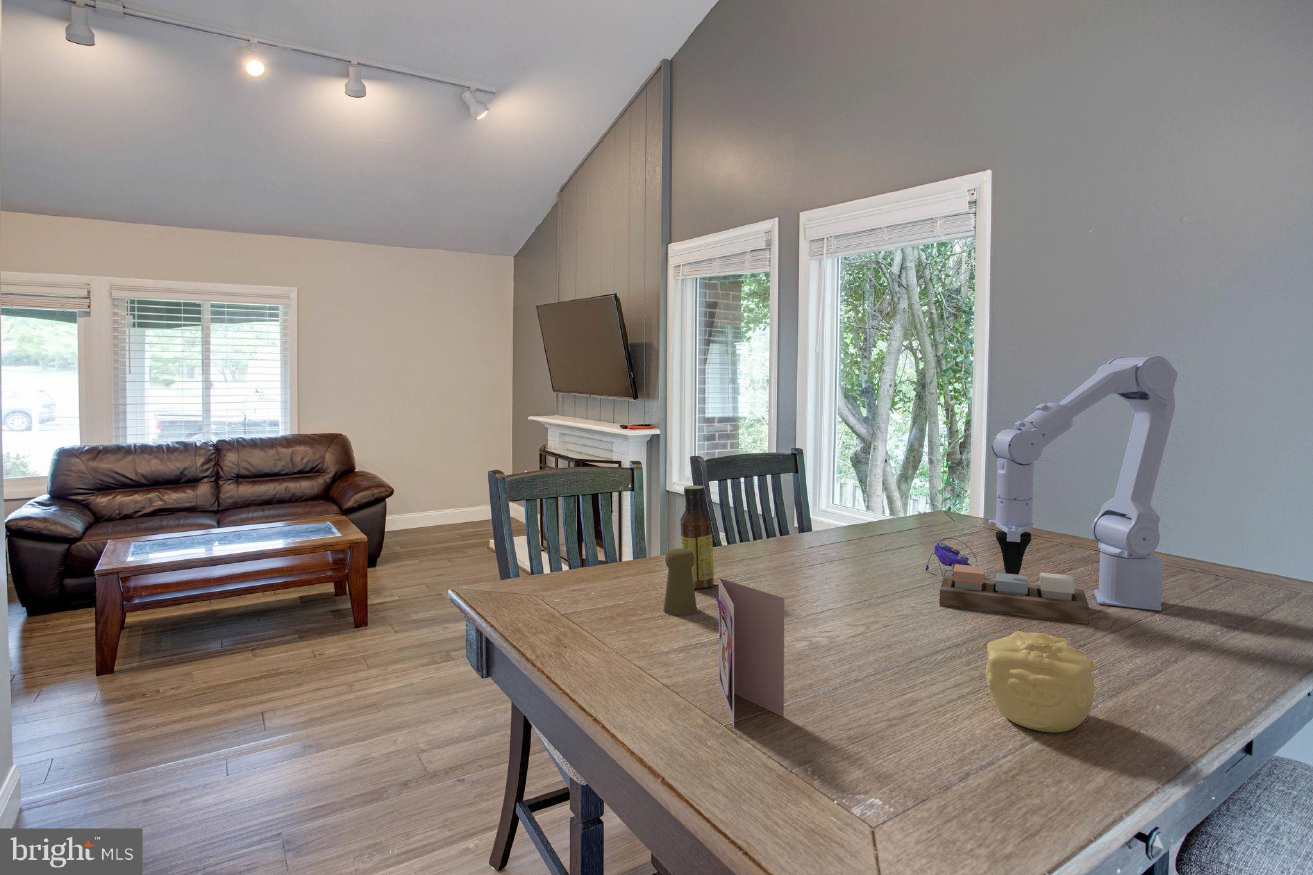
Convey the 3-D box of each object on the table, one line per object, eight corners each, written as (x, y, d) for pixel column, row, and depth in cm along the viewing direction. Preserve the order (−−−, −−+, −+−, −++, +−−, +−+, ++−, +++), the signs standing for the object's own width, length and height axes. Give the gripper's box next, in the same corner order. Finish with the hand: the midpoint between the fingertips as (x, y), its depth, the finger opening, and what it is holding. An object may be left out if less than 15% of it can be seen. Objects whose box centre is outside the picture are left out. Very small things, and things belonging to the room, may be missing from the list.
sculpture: (977, 727, 86) (980, 639, 85) (994, 689, 96) (997, 610, 95) (1089, 754, 79) (1093, 659, 79) (1095, 711, 89) (1099, 627, 88)
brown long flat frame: (1082, 606, 129) (1083, 589, 128) (1088, 624, 120) (1088, 606, 119) (944, 590, 139) (944, 575, 138) (939, 605, 130) (939, 589, 129)
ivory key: (1071, 594, 127) (1072, 575, 127) (1073, 602, 123) (1074, 583, 122) (1039, 591, 129) (1040, 572, 129) (1040, 599, 125) (1041, 579, 124)
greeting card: (712, 686, 98) (712, 578, 96) (767, 684, 98) (767, 576, 97) (726, 727, 86) (726, 605, 85) (788, 725, 87) (788, 603, 86)
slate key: (1026, 594, 130) (1027, 576, 130) (1027, 602, 126) (1027, 583, 125) (995, 591, 132) (996, 573, 132) (995, 599, 128) (995, 580, 128)
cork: (694, 616, 126) (694, 554, 125) (660, 614, 127) (659, 553, 126) (699, 605, 132) (699, 546, 131) (666, 603, 133) (666, 544, 132)
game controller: (993, 560, 146) (956, 555, 143) (977, 594, 149) (939, 590, 145) (960, 535, 155) (925, 530, 151) (945, 568, 158) (909, 564, 154)
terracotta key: (984, 585, 133) (984, 567, 133) (983, 592, 129) (983, 573, 128) (954, 581, 135) (955, 564, 135) (952, 589, 131) (953, 570, 131)
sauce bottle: (714, 581, 147) (713, 484, 145) (713, 590, 141) (713, 489, 139) (682, 580, 147) (681, 484, 146) (680, 589, 141) (679, 489, 139)
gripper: (990, 489, 136) (988, 560, 137) (988, 503, 123) (986, 581, 124) (1032, 492, 133) (1030, 564, 134) (1035, 505, 120) (1032, 586, 121)
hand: (1012, 573), depth 129 cm, fingers closed
